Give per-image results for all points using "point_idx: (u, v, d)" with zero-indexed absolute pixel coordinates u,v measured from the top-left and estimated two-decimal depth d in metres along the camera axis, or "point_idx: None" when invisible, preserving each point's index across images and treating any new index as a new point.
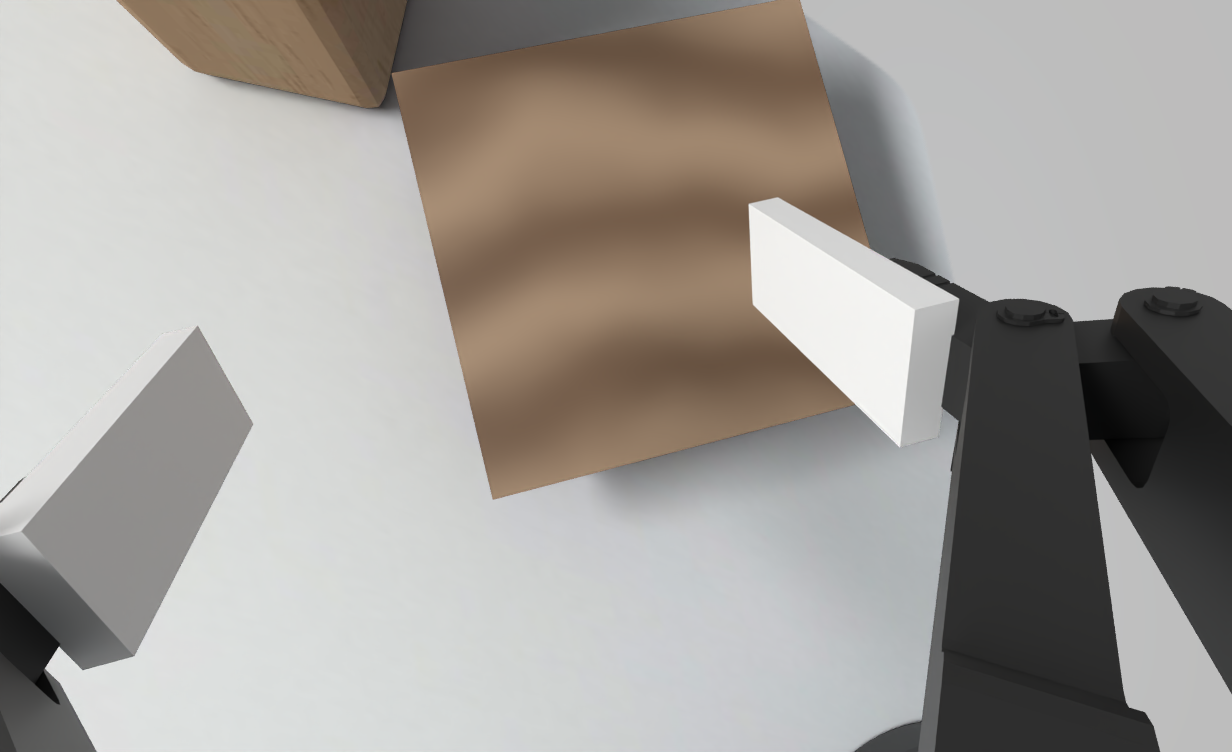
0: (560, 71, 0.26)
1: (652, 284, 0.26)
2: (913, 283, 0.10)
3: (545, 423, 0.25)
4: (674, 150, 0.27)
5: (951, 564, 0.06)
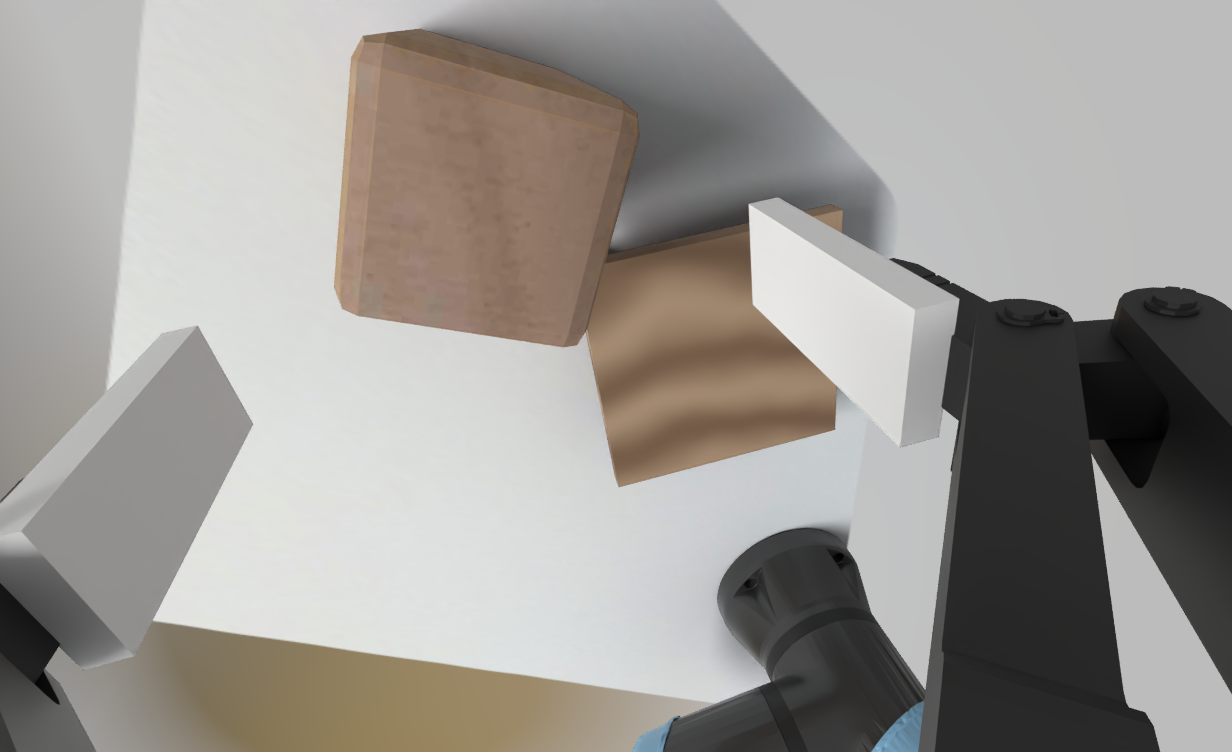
0: (681, 266, 0.40)
1: (715, 386, 0.45)
2: (913, 283, 0.10)
3: (648, 454, 0.47)
4: (742, 312, 0.43)
5: (951, 564, 0.06)
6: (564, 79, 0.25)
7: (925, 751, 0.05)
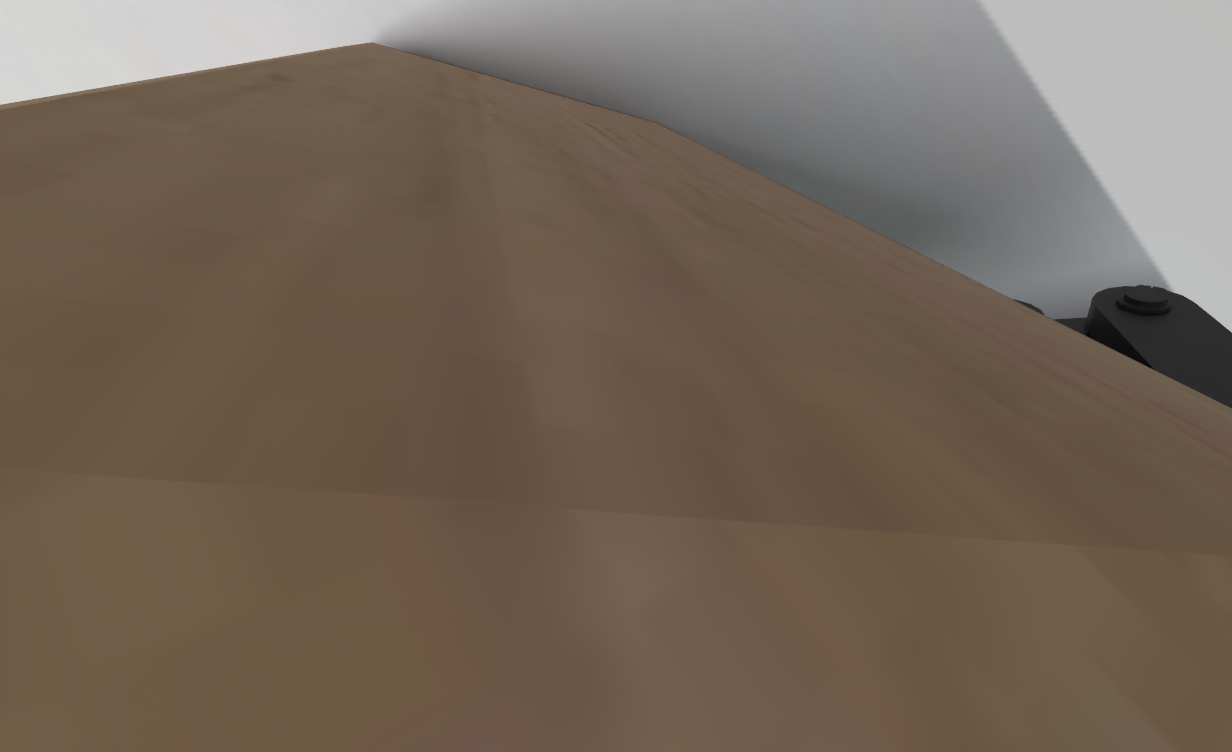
0: None
1: None
2: None
3: None
4: None
5: None
6: (890, 269, 0.06)
7: None
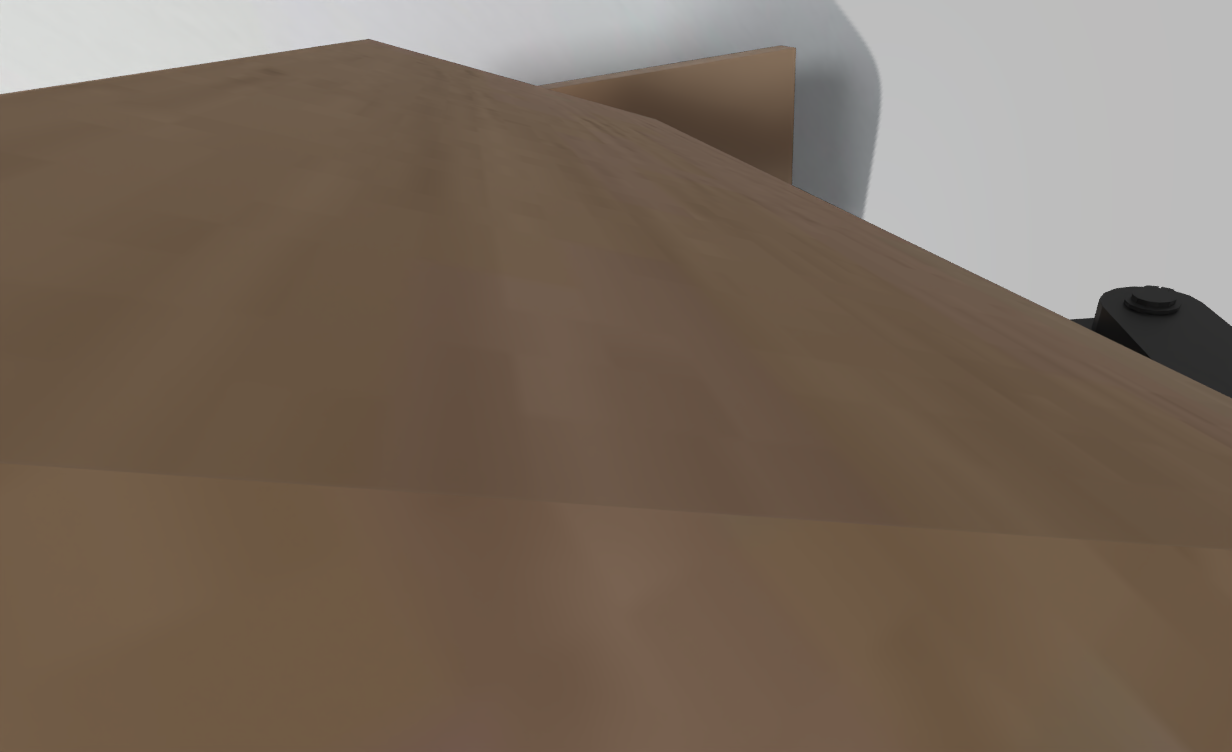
0: None
1: None
2: None
3: None
4: None
5: None
6: (890, 263, 0.06)
7: None
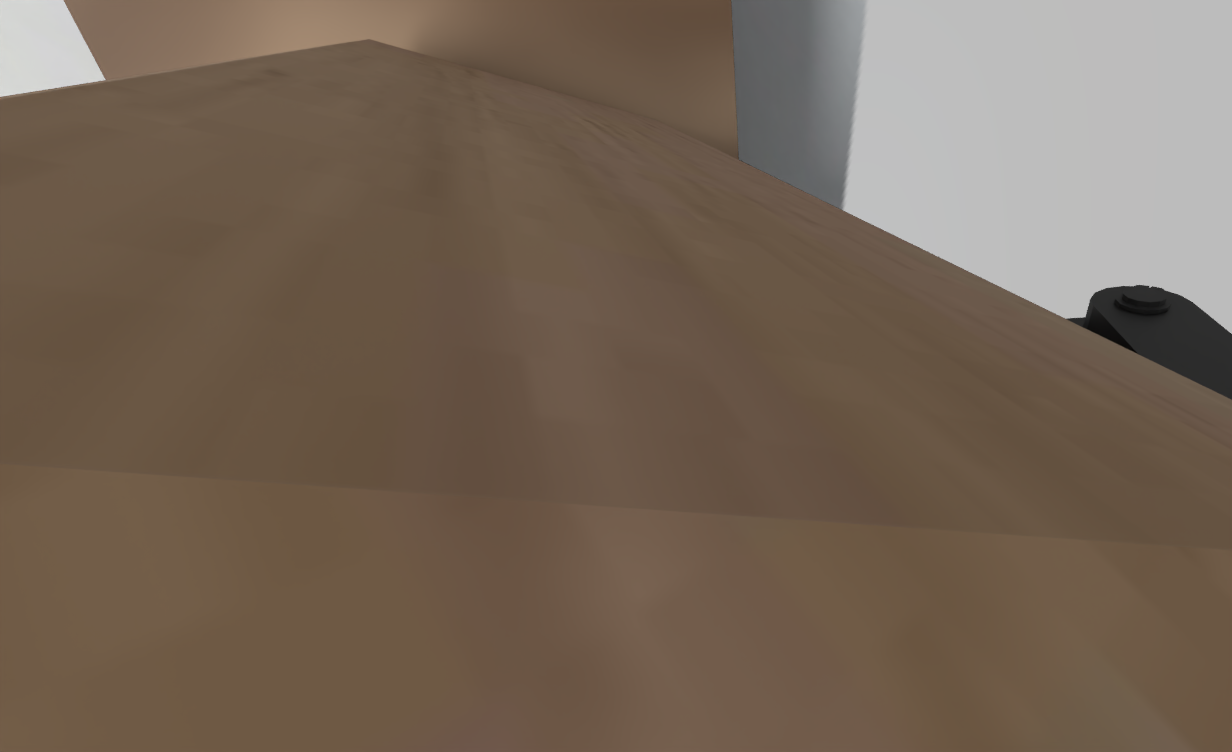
0: None
1: None
2: None
3: None
4: None
5: None
6: (892, 264, 0.06)
7: None
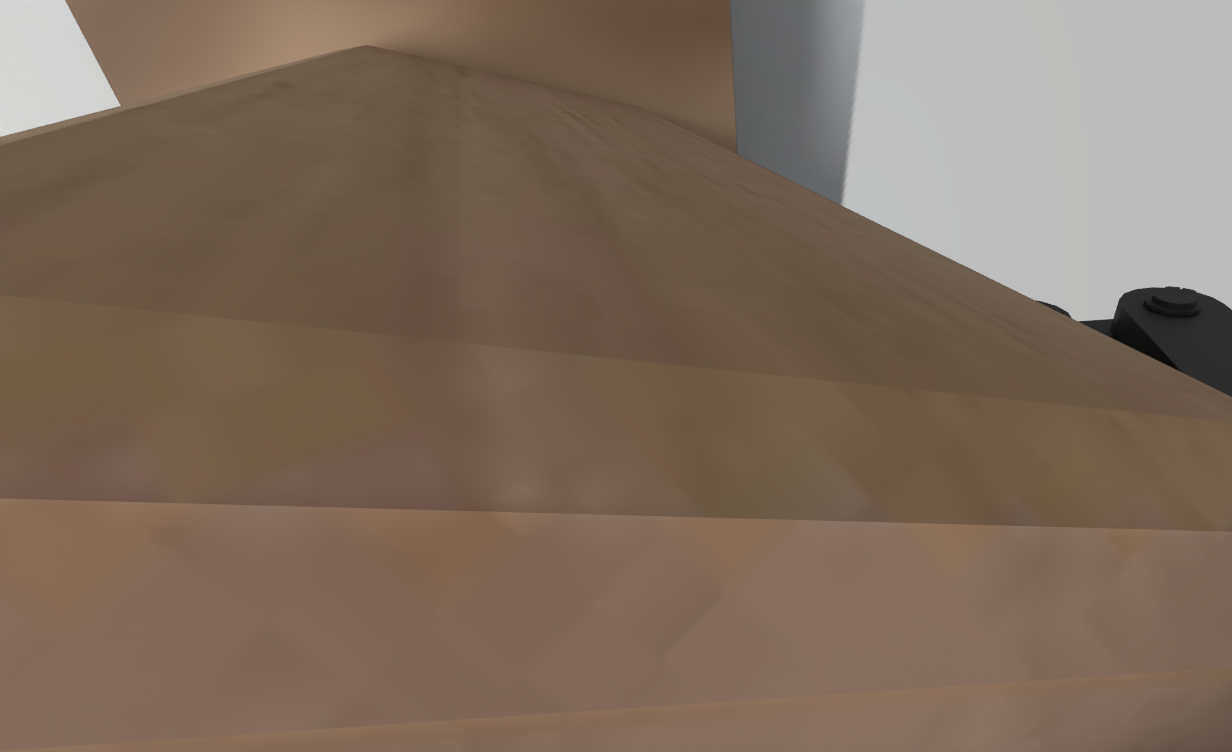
0: None
1: None
2: None
3: None
4: None
5: None
6: (814, 225, 0.07)
7: None
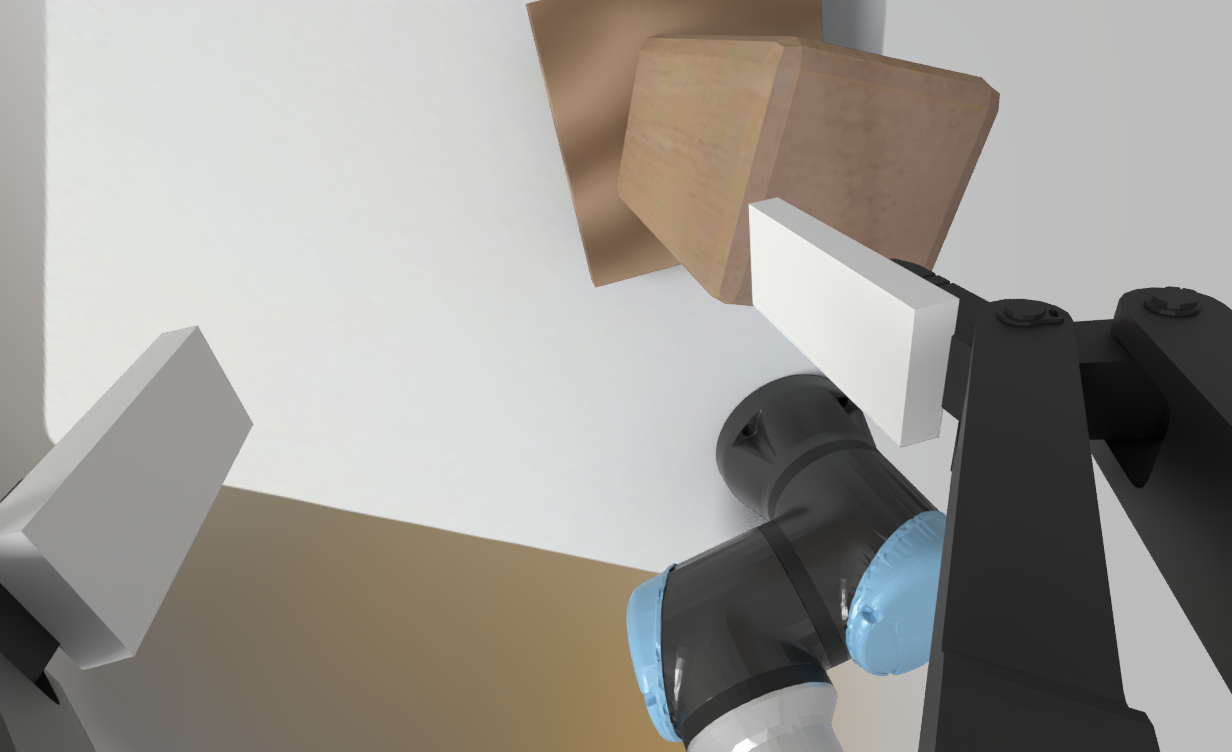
0: (645, 2, 0.37)
1: None
2: (913, 283, 0.10)
3: (624, 246, 0.44)
4: None
5: (951, 564, 0.06)
6: None
7: (925, 751, 0.05)
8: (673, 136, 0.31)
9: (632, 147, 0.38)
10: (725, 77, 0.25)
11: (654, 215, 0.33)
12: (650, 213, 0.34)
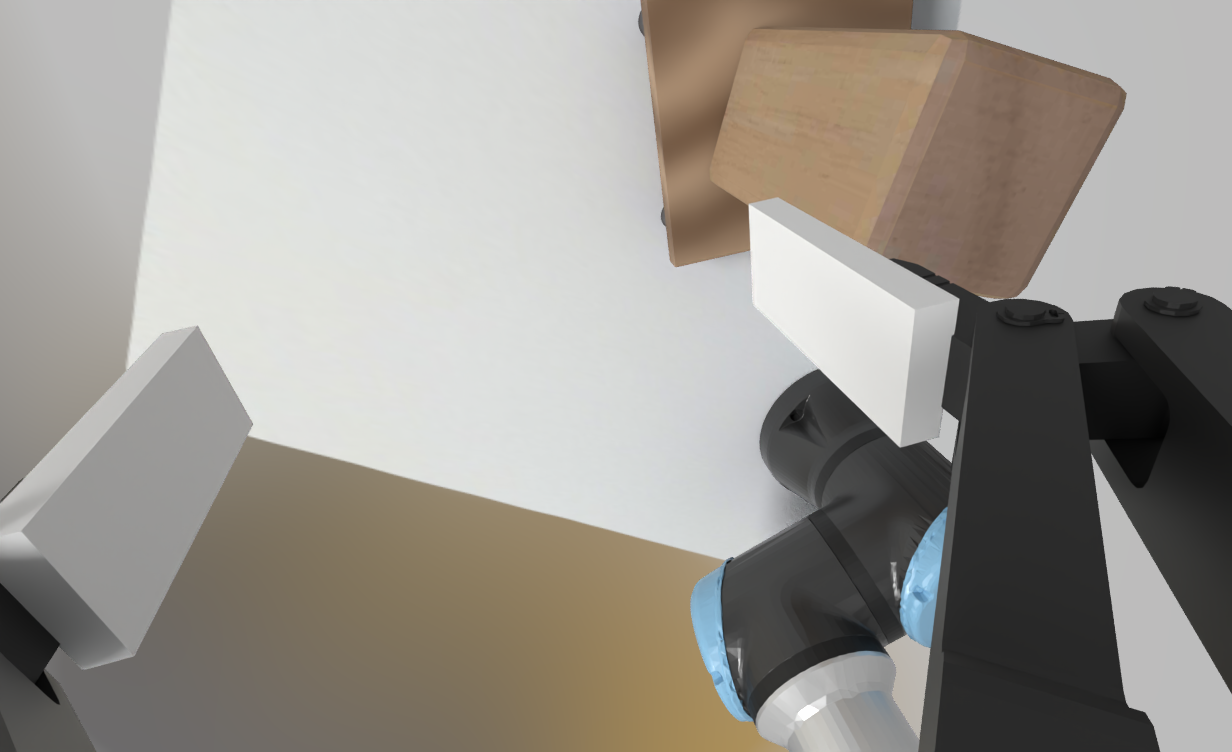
0: None
1: None
2: (913, 283, 0.10)
3: (707, 229, 0.46)
4: None
5: (951, 564, 0.06)
6: None
7: (925, 751, 0.05)
8: (796, 121, 0.33)
9: (733, 132, 0.40)
10: (874, 66, 0.27)
11: (766, 196, 0.35)
12: (760, 194, 0.36)
